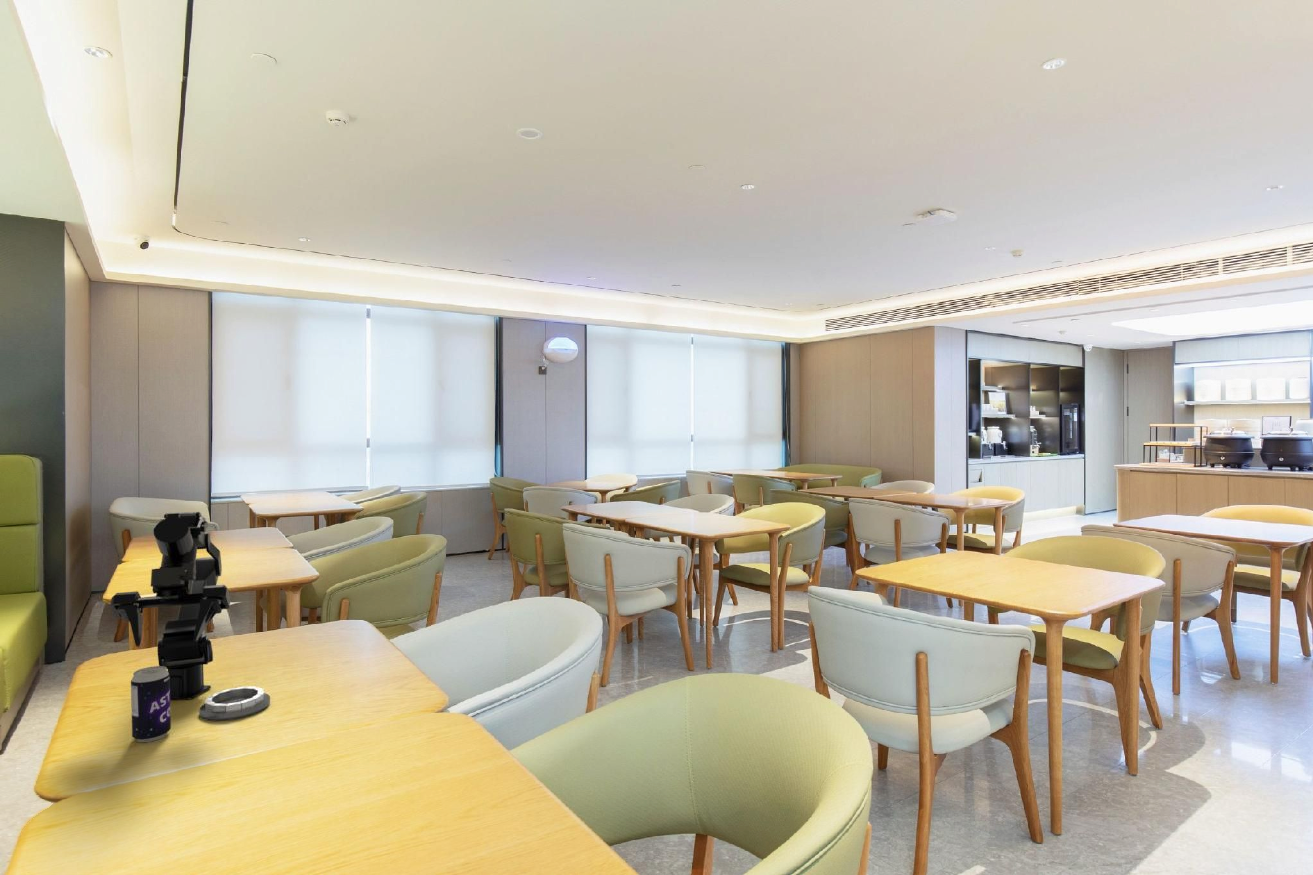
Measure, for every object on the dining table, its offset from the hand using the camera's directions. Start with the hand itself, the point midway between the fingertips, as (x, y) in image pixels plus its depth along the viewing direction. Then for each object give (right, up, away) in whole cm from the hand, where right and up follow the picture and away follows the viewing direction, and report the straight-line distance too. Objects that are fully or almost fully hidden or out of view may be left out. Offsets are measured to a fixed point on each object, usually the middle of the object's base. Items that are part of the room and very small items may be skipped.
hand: (166, 643), depth 136 cm
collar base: (+9, -15, +7) cm, 19 cm away
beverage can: (+1, -15, -6) cm, 16 cm away
